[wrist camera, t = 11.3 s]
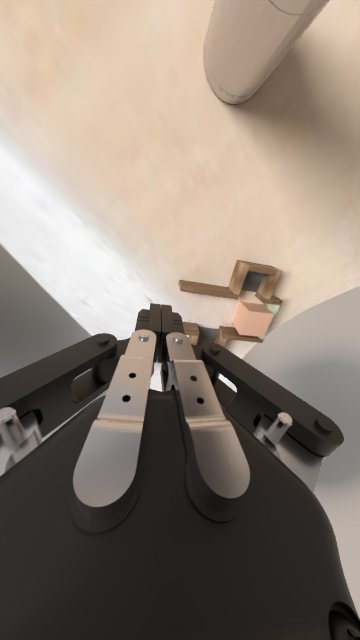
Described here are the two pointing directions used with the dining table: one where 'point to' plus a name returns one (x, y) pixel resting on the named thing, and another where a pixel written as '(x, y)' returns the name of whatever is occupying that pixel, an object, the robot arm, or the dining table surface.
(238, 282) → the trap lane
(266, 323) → the block
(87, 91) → the dining table surface
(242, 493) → the robot arm
